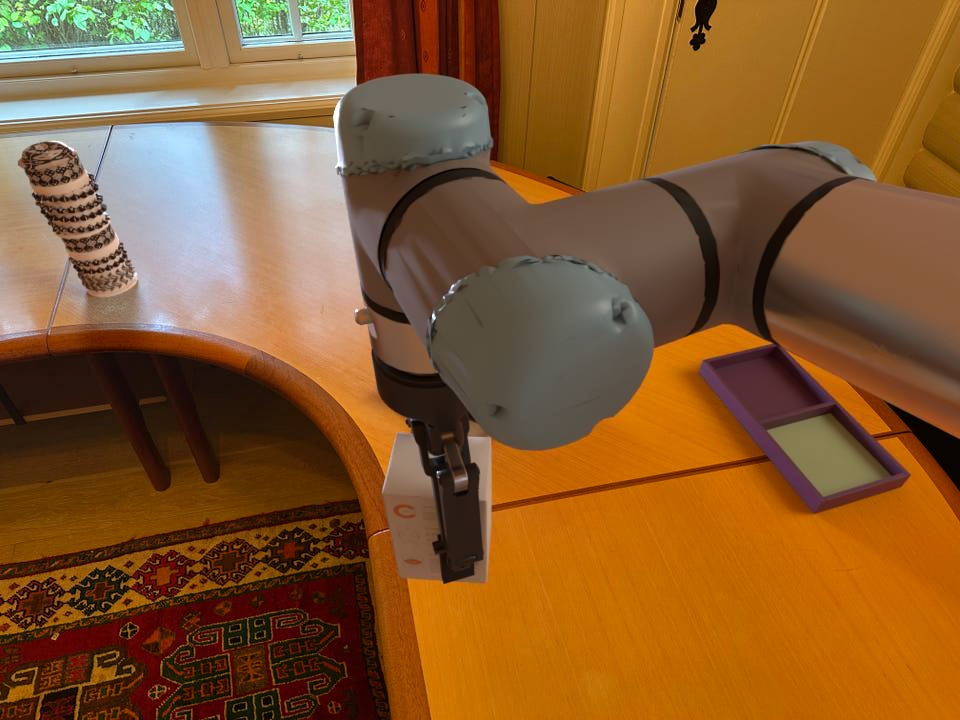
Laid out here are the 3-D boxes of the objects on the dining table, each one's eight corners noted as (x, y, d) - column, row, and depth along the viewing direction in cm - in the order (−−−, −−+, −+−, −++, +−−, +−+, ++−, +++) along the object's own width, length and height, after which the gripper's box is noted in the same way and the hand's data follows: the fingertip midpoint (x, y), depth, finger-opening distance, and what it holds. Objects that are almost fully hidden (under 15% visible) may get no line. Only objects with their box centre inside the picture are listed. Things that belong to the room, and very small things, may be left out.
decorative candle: (147, 284, 108) (85, 149, 91) (92, 305, 103) (15, 166, 86) (131, 262, 113) (69, 129, 96) (78, 281, 108) (2, 145, 91)
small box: (492, 522, 58) (493, 435, 49) (487, 585, 54) (488, 502, 45) (408, 517, 59) (395, 430, 50) (397, 579, 54) (380, 495, 45)
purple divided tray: (772, 354, 94) (777, 342, 93) (901, 487, 76) (911, 474, 75) (698, 372, 91) (702, 359, 90) (814, 514, 74) (822, 502, 72)
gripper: (347, 263, 45) (382, 455, 61) (406, 483, 31) (432, 661, 46) (444, 246, 47) (454, 437, 62) (544, 447, 32) (524, 631, 48)
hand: (444, 532), depth 54 cm, fingers closed on small box, 8 cm apart
